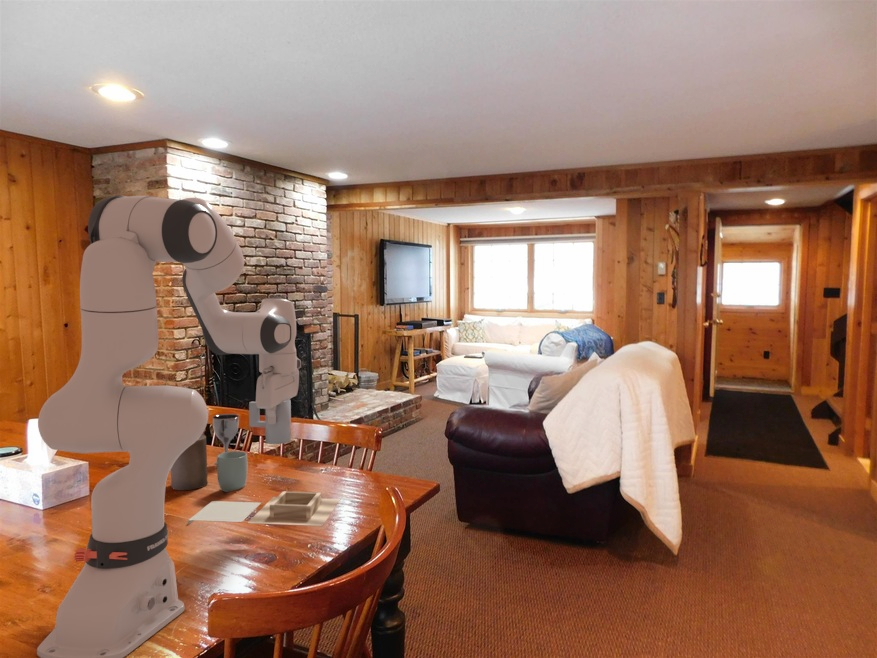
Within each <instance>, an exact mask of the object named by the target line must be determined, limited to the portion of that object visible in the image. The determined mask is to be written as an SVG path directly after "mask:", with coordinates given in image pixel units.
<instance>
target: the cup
mask: <svg viewBox="0 0 877 658" xmlns="http://www.w3.org/2000/svg"><path fill="white" fill-rule="evenodd" d="M216 461H217V465H216V471H217V472H216V473H217V474H216V475H217V482H218V486H219V488H220V490H221V491H223V492H225V493H230V492H232V491H237V490H241V489H243V488H244V487H245V486H246V484H247V480H248V453H247V452H246V451H239V450H231V451H228V452H225V451H223V452H222V453H219V454H218V455H217V457H216Z"/></svg>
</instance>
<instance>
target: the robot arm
mask: <svg viewBox="0 0 877 658" xmlns="http://www.w3.org/2000/svg"><path fill="white" fill-rule="evenodd" d="M87 222H88V224H87V231H88V238H89V243H90V244H89V245H88V246H87V247H86V248H85V250H84V252H83V255H82V261H81V268H80V275H79V277H80V279H79V305H80V308H79V309H80V318H81V320H80V321H81V350H80V351H81V352H80V357H79V360H78V365H77V367H76V369H75V371H74V373H73V375H72V376H71V378H70V379H69V380H68V381H67V382H66V383H65V385H64V386H62V387H61V388H60V389H59V390H57V391H56V392H55V393H53V394H51V396H50V397H48V399H46V401H45V402H44V404H43V405H42V407H41V409H40V411H39V414H38V419H37V428H38V433H39V435H40V437H41V439H42V441H43V442H44V443H45V445H46V446H47V447H48V448H50V449H51V450H55V451H60V452H61V451H62V452H68V453H75V454H76V453H77V454H94V453H95V454H97V453H98V454H99V453H114V452H115V453H117V452H124V453H125V452H126V453H129V463H128V464H127V465H125V466H124V467H121V468H120V469H119V468H118V469H117V470H116V471H113V472H110V473H109V474H108V475H106V476H105V477H103V478H102V479H101V480H100V481H98V482H97V483H96V485H95V486H94V489H93V490H92V493H91V497H90V498H91V500H90V501H91V505H90V506H91V534H90V536H89V538H88V543H87V546H86V548H81V547H80V548H77V549H76V550H75V553H74V556H73V558H74V559H73V560H74V561H75V562H79V563H80V562H84V565H83V567H82V569H81V570H80V572H79V574H78V575H77V576H76V578H75V580H74V582H73V584H71V586H70V588H69V590H68V591H67V593H66V595H65V596H64V598H63V600H62V601H61V603H60V604H59V607H58V608H57V610H56V617H55V618H56V619H55V627H54V628H53V629H52V631H51V632H50V633H49V634H47V636H46V638H44V639H43V641H42V642H41V643H40V644H39V645H38V647H37V648H36V655H37V656H38V657H39V658H125V657H127V655H129V654H130V653H132V652H133V651H134V650H135V649H137V648H138V647H139V646H141V645H142V644H143V643H144V642H146V641H147V640H148V639H149V638H151V637H152V636H154V635H155V634H157V633H158V632H159V631H160V630H161V629H163V628H164V627H166V626H167V625H168V624H169V623H171V622H172V621H173V620H175V619H176V618H177V617H178V616H180V615H181V614H182V613H183V612H184V611H186V607H185V603H184V601H182V600H180V599H179V594H178V588H177V586H178V585H177V576H176V567H175V563H174V561H173V560H172V558H171V556H170V555H169V553H168V550H167V547H168V542H169V540H168V539H169V530H168V524H167V522H166V521H165V500H166V498H165V497H166V488H167V487H166V486H167V481H168V477H169V476H170V474H171V468H172V466H173V465H174V463H175V461H176V460H177V459H178V457H179V456H180V455H181V454H182V453H183V452H184V451H185V450H186V449H187V448H188V447H189V446H191V445H192V444H194V443H195V442H196V441H197V440H198V439H199V438H200V437H201V435H204V432H205V430H206V427H207V425H208V421H209V420H208V419H209V412H208V407H207V404H206V401H205V399H204V397H203V396H202V394H200V393H199V392H198V391H197V390H196V389H194V388H188V387H183V386H176V385H175V386H174V385H164V384H163V385H131V386H130V385H124V383H123V375H124V374H125V373H127V372H129V371H131V370H133V369H135V368H138V367H140V366H141V365H143V364H145V363H147V362H148V361H150V360H151V359H152V358H154V356H155V355H156V353H157V352H158V350H159V349H158V348H159V345H160V344H159V343H160V342H159V340H160V339H159V327H158V326H159V324H158V323H159V322H158V305H157V302H158V301H157V293H156V292H157V291H156V285H155V279H154V274H153V273H154V270H155V266H156V264H157V263H180V264H182V265H183V266H184V267H185V269H184V270H183V273H182V279H181V280H182V287H183V290H184V292H185V295H186V297H187V299H188V302H189V303H190V306H191V308H192V310H193V313H194V314H195V317H196V320H198V323H199V325H200V328H201V332H202V336H203V339H204V342H205V345H206V346H207V348H209V350H211V352H212V353H213V354H215V355H220V356H221V355H222V356H223V355H232V354H233V355H234V354H235V355H258V371H259V372H260V373H261V374H260V375H259V376H258V377H257V380H256V389H255V402H256V406H257V408H260V409H261V410H262V409H264V410H265V409H266V410H265V414H266V413H267V416H268V423H269V424H275V423H277V416H276V411H275V410H276V406H277V405H278V404H280V403H282V402H284V401H286V400H288V399H290V400H291V399H292V398H294V397H297V396H298V391H299V384H300V371H299V369H300V368H302V361H301V359H299V358H298V356H297V348H296V344H295V343H296V341H295V340H296V337H297V317H296V310H295V306H294V303H293V301H291V300H289V299H286V298H284V297H283V298H280V297H266V298H263V299H262V300H261V303H260V309H258V310H256V311H255V312H254V311H253V312H241V311H239V312H237V311H230V310H226V309H225V308H222V306H221V304H220V302H219V299H218V297H217V294H216V293H219V292H222V291H225V290H227V289H228V288H229V287H231V286H232V285H233V284H235V283H236V281H238V279H239V277H240V276H241V275H242V273H243V270H244V266H245V259H244V257H245V256H244V254H243V250H242V248H241V246H240V245H239V242H238V241H237V239H236V237H235V235H234V234H233V232H232V231H231V229H230V228H229V226H228V224H227V223H226V222H225V220H224V219H223V218H222V216H221V215H220V214H219V212H218V211H217V210H216V209H215V207H213V206H212V204H210V203H209V202H208V201H206V200H205V199H203V198H199V197H186V198H182V199H172V198H166V197H157V196H154V195H130V196H129V195H128V196H125V195H115V196H110V197H109V196H108V197H105V198H103V199H101V200H99V201H97V202H96V203H95V205H94V206H93V207H92V209H91V211H90V214H89V217H88V221H87Z"/></svg>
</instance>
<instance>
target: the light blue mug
mask: <svg viewBox="0 0 877 658" xmlns="http://www.w3.org/2000/svg"><path fill="white" fill-rule="evenodd" d="M291 404H292V403H291V398H290V399H288V400H286V401H284V402H282V403H280V404H278V405H277V406H276V410H275V411H276V416H277V423H275V424H269V423H268V416H267V413H266V412H265V420H261V418H260V417H261V416H260V415H261V414H260V413H261V410H260V409H261V408H257V406H256V401H249V404H248V415H249V416H248V419H249V421H248V422H249V424H248V427H250V428H265V443H266V444H269V445H281V444H287V443H290V442H291V440H292V410H291V409H292V405H291ZM264 410H265V411H266V409H264Z"/></svg>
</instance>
